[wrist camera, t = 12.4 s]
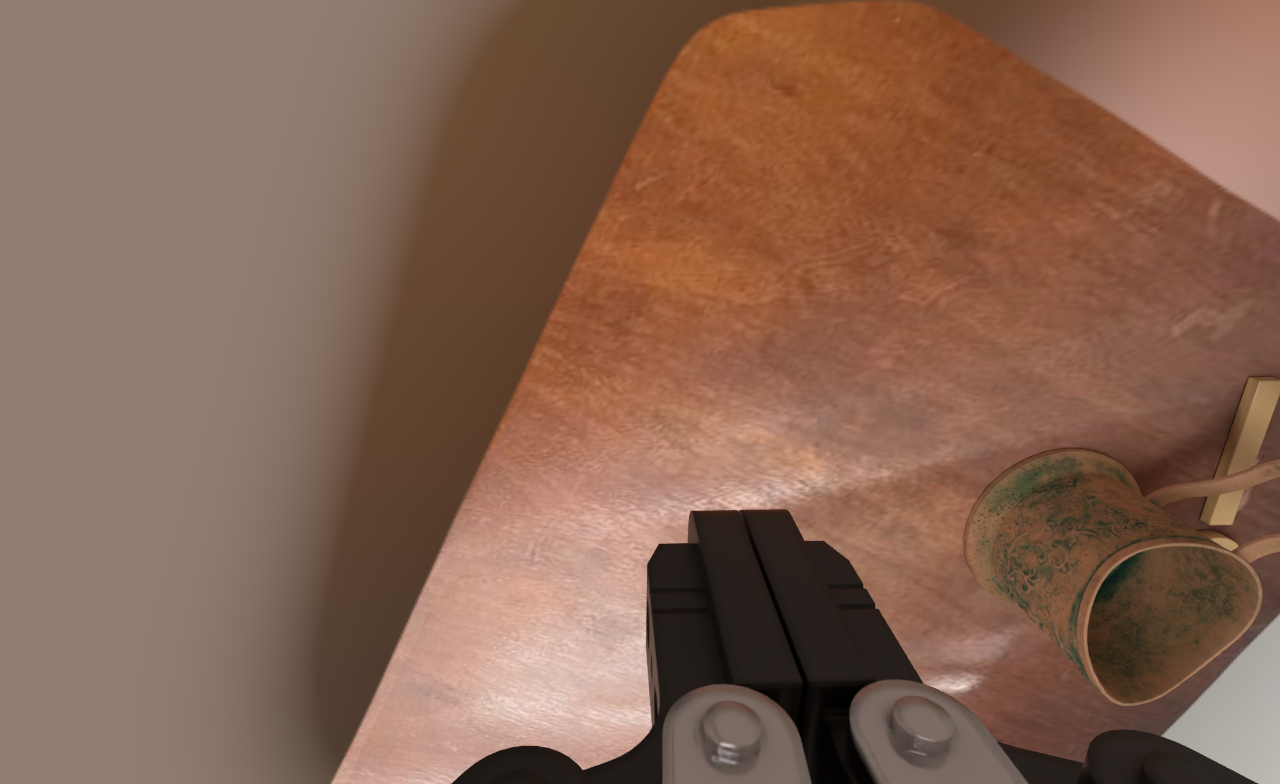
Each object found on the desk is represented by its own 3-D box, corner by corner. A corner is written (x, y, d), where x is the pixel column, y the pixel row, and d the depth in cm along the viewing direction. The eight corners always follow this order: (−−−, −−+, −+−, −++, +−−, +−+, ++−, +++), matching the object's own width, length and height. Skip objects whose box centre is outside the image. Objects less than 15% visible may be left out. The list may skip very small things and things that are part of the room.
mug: (1251, 471, 42) (1491, 585, 30) (1021, 629, 45) (1159, 785, 34) (1170, 347, 38) (1404, 423, 27) (929, 527, 42) (1048, 662, 31)
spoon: (1226, 376, 39) (1241, 381, 38) (1294, 376, 39) (1311, 381, 38) (1156, 585, 44) (1168, 594, 43) (1217, 584, 45) (1230, 593, 44)
